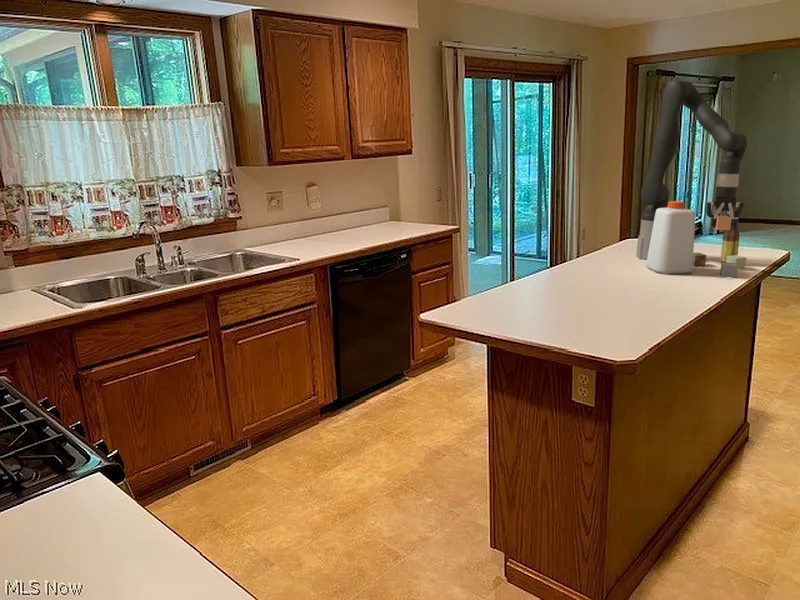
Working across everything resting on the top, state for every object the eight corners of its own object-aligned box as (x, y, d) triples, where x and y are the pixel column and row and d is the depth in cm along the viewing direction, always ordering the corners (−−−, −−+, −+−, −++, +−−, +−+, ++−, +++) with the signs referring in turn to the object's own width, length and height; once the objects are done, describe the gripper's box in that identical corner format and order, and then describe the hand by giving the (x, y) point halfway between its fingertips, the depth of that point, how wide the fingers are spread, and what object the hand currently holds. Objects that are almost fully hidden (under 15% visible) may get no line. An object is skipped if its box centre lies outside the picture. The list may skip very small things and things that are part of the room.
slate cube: (721, 277, 230) (723, 264, 228) (719, 274, 234) (721, 262, 233) (736, 278, 228) (738, 265, 227) (733, 275, 233) (735, 263, 231)
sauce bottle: (732, 262, 255) (739, 216, 249) (739, 265, 249) (746, 218, 243) (716, 262, 255) (723, 216, 250) (722, 265, 249) (729, 218, 244)
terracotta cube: (716, 229, 235) (718, 217, 234) (712, 227, 240) (713, 215, 239) (730, 230, 234) (731, 217, 233) (725, 228, 239) (727, 215, 238)
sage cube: (734, 270, 241) (736, 258, 240) (725, 267, 246) (727, 255, 245) (744, 269, 243) (746, 257, 241) (735, 266, 247) (736, 255, 246)
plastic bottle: (696, 274, 235) (705, 203, 227) (659, 275, 234) (667, 204, 226) (676, 265, 250) (684, 199, 242) (642, 266, 249) (649, 200, 241)
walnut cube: (693, 267, 248) (695, 255, 246) (687, 264, 252) (688, 253, 251) (705, 266, 248) (706, 255, 247) (697, 264, 253) (699, 252, 251)
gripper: (742, 184, 235) (736, 226, 240) (704, 184, 237) (699, 226, 242) (750, 186, 228) (743, 229, 232) (711, 185, 230) (705, 229, 235)
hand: (721, 227), depth 237 cm, fingers closed on terracotta cube, 5 cm apart
